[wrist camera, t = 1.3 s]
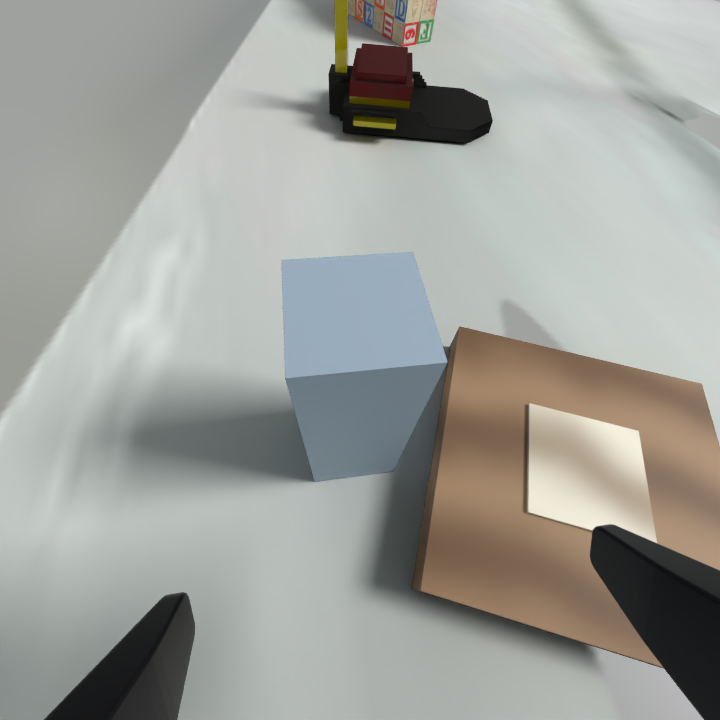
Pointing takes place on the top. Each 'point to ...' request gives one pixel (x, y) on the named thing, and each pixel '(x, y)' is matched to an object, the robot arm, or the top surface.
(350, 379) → the column block
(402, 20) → the stack of blocks
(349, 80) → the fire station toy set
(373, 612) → the top surface
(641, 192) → the top surface
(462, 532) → the base board
